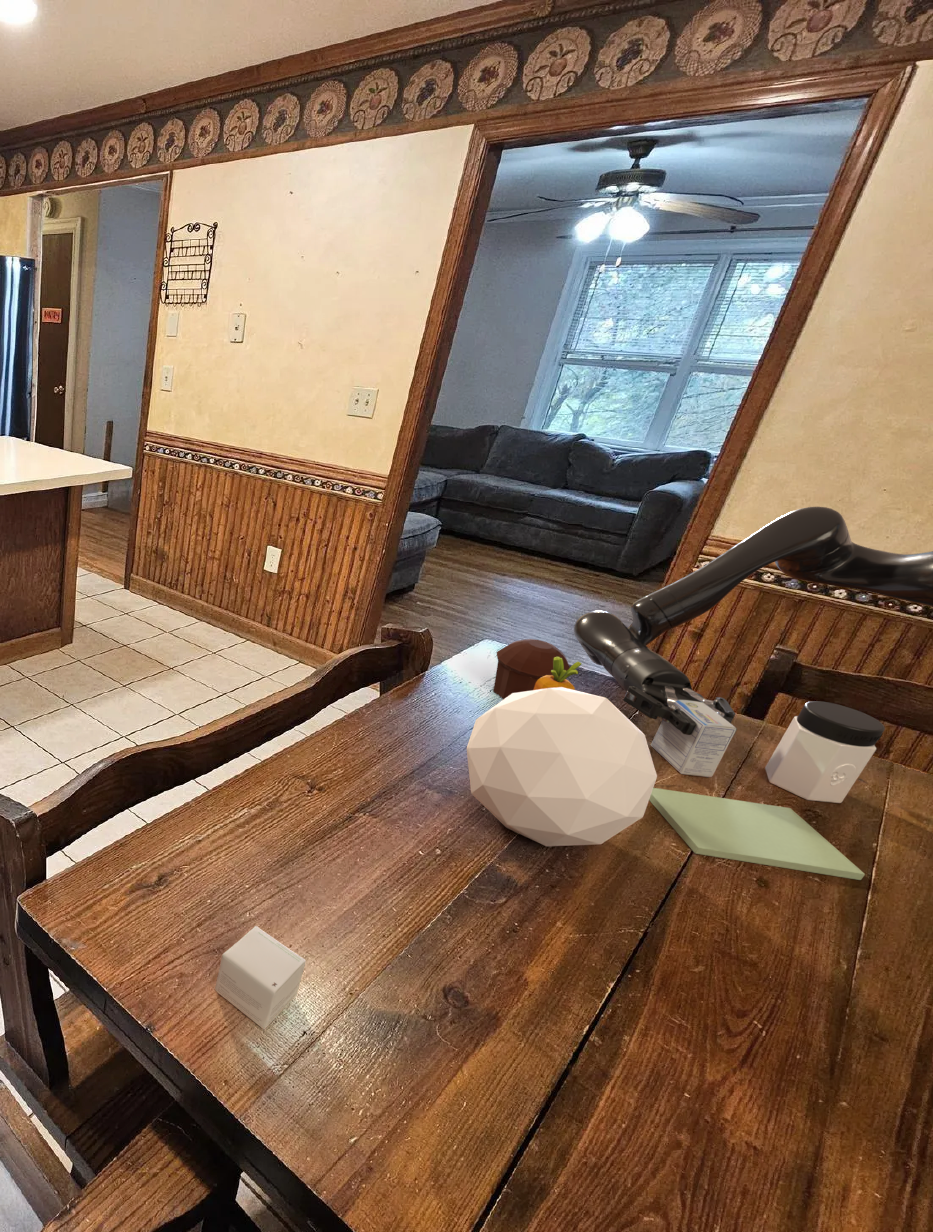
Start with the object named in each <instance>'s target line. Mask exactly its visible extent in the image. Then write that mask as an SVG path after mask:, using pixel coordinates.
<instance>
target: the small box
mask: <svg viewBox="0 0 933 1232" xmlns="http://www.w3.org/2000/svg"><path fill="white" fill-rule="evenodd" d="M306 963H307V961H306V959H305V958H304V957H302V956H300V954H297V953H296V952H295V951H293V950H292V949H290V948H289V947H287V946H286V945H284V944H283V943H281V942H280V941H279V940H277V939H276V938H275V937H273V936H272V935H270V934H268V932H266V931H264V930H263V929H261V928H260V927H259V926H258V925H254V927H253V928H251V929H250V930H249V931H248V932H247V933H246V934H245V935H243V936H242V937H241V938H240V939H239V940H238V941H236V942H235V943H234V944H233V945H232V946H231V947H229V948H228V949H227V950H226V951H224V952H223V953H222V954H221V959H220V964H219V968H218V973H217V978H216V982H215V987H214V991H215V992H216V993H217V994H219V995H220V996H221V997H222V998H224V999H225V1000H226V1001H228V1002H229V1003H230V1004H231V1005H232V1006H234V1007H235V1008H236V1009H237V1010H238V1011H240V1012H241V1013H242V1014H244V1015H245V1016H246V1017H248V1018H249V1019H250V1020H251V1021H253V1023H255V1024H256V1025H258V1026H259V1027H260V1028H261V1029H262V1030H266V1029H267V1028H268V1027H269V1026H270V1025H271V1024H272V1023H273V1022H274V1021H275V1019H277V1017H278V1016H279V1015H280V1014H281V1013H282V1012H283V1011H284V1009H286V1008H287V1006H289V1005H290V1003H291V1002H293V1000H294V999H295V998H296V997H297V996H298V992H299V989H300V985H301V981H302V978H303V974H304V970H305V966H306Z"/></svg>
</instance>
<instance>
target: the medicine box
mask: <svg viewBox="0 0 933 1232" xmlns="http://www.w3.org/2000/svg"><path fill="white" fill-rule="evenodd" d="M675 704H676V705H677V706H678V708H679V709H678V710H681V711H683V712H684V713H686V714H687V715H688V716H689V717H690V718H691V719H692V720H694V721H695V723H696V726H695V728H694V730H693V732H692V734H691V735H686V734H683V733H682V732H681V731H680V730H678V729H677V728H675V726H673V725H672V724H671V723H668V722H665V721H663V720H662V719H661V720H662V721H661V723H660V725H659V727H658V729H657V731H656V733H655V735H654V737H653V738H652V739H653V740H652V741H651V743H650V746H651V747H652V748H653V749H654V750H655V751H656V752H657V753H658V754H659V755H660V756H661V757H662V758H663V759H665V760H666V761H667V762H668V763H669V764H670V765H671V766H672V767H673V768H674V769H675V770H676V771H677V772H679V774H681V775H687V776H695V777H704V778H712V777H713V776H714V774H715V773H716V770H717V768H718V766H719V764H720V763H721V761H722V758H723V757H724V755H725V753H726V751H727V749H728V747H729V745H730V743H731V741H732V739H733V738H734V736H735V735H734V733H735V731H736V728H737V727H736V726H735V725H734V724H733V723H731V724H730V723H729V722H728V721H727V720H725V719H724V718H723V717H721V716H720V715H719V714H718V713H716V712H715V711H714V710H712V709H711V708H710V707H708V706H707V705H706V704H704V703H703V702H696V701H689V700H678V701H675ZM733 725H734V726H735V727H736V728H735V727H734V726H733ZM736 732H737V731H736ZM735 734H736V733H735ZM733 735H734V736H733ZM732 737H733V738H732Z"/></svg>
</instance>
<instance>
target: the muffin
mask: <svg viewBox="0 0 933 1232" xmlns="http://www.w3.org/2000/svg"><path fill="white" fill-rule="evenodd" d="M495 653H496V658H497V665H496V672H495V678H494V684H493V690H492V692H493V693H494V694H496V695H498V696H499V697H500V698H501V699H502V700H504V699H505V698H506V697H508V696H509V695H511V694H512V693H518V692H525V691H532V690H533V689H534V686H535V684H536V682H537V680H538V679H540V678H541V677H543V676H545V675H552V676H553V674H552V672H551V670H554V668H553V661H554V657H560V658H562V660H563V665H564V670H566V671H567V670H568V669H569V668H570V667H571V666H570V663H569V662H568V659H567V657H566V655H565V654H564V652H563V651H562V650H561V649H559V648H558V647H557V646H556V645H554V644H552V643H550V642H548V641H546V640H545V641H544V640H540V639H534V638H525V639H519V640H515V641H512V642H511V643H509V644H508V645H506V646H504V647H502V648H501V649H499V650H498V651H496V652H495ZM566 679H567V680H568V677H567V678H566Z"/></svg>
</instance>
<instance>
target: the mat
mask: <svg viewBox="0 0 933 1232" xmlns="http://www.w3.org/2000/svg"><path fill="white" fill-rule="evenodd" d="M649 802H650V803H651V804H652V806H654V808H655V809H656V810H657V811H658V813H660V815H661V816H662V817H663V818H664V819H665V820H666V822H667V823H668V825H670V826H671V827H672V829H673V830H674V831H675V832H676V833H677V835H679V837H680V838H681V839H682V840H683V842H684V843H685V844H686V845H687V846H688V847H689V848H690V850H691V851H692V852H693V853H694V854H696V855H701V856H708V857H714V858H720V859H727V860H734V861H739V862H745V863H751V864H758V865H763V866H764V865H765V866H769V867H770V866H771V867H777V868H781V869H790V870H794V871H802V872H808V873H813V874H818V875H819V874H820V875H826V876H833V877H838V878H844V879H849V880H850V879H851V880H856V881H857V880H858V881H861V880H863V878H864V877H865V875H866V874H865V873H864V872H863V871H862V870H861V869H860V868H859V867H858V866H857V865H855V864H854V863H853V862H852V861H851V860H850V859H848V858H847V857H846V856H845V855H844V854H843V853H842V852H841V851H840V850H838V849H837V848H836V847H835V846H834V845H833V844H832V843H830V841H828V840H827V839H826V838H825V837H823V836H822V835H821V834H820V833H819V832H818V831H817V830H816V829H815V828H813V827H812V826H811V824H809V823H808V822H807V821H805V819H803V817H801V816H800V815H798V813H796V812H795V811H794V810H793V809H792V808H790V807H785V806H778V805H772V804H765V803H759V802H752V801H744V800H738V799H731V798H725V797H719V796H711V795H705V794H698V793H691V792H685V791H677V790H671V789H665V788H660V787H659V788H658V787H653V790H652V793H651V796H650V799H649Z"/></svg>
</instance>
